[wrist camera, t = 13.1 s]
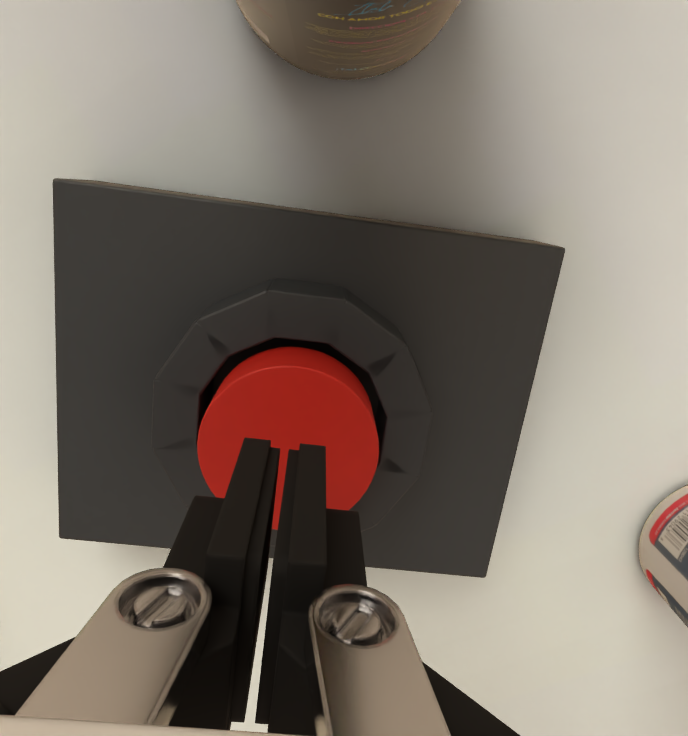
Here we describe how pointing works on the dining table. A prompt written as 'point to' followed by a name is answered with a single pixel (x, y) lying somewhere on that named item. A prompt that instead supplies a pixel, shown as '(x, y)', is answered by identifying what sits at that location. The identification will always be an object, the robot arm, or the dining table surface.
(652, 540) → the pill bottle
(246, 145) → the dining table surface
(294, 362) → the button
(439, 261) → the control box
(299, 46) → the supplement container
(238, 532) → the robot arm
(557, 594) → the dining table surface
